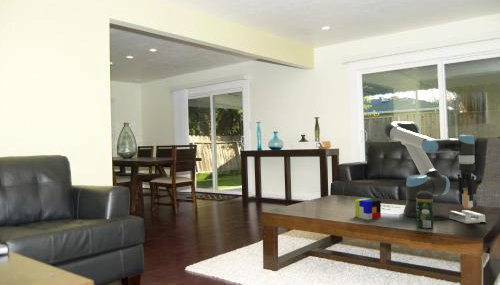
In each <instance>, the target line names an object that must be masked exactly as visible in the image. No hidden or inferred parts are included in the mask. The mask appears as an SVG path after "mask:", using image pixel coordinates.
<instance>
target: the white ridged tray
mask: <svg viewBox="0 0 500 285" xmlns="http://www.w3.org/2000/svg"><path fill="white" fill-rule="evenodd" d="M448 217H449V218H448V219H451V220H455V221H457V222H459V223H463V224H480V222H485V223H486V215H485V214H484V213H480V212H476V211H472V210H470V209H464V210H461V212H459V211H455V210H449V211H448Z"/></svg>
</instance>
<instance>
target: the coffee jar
mask: <svg viewBox="0 0 500 285" xmlns="http://www.w3.org/2000/svg"><path fill="white" fill-rule="evenodd" d="M416 212H417V217H416V226H417V228H420V229H424V230H425V229H426V230H427V229H433V228H434V196H433V194H432V193H431V192H429V191H420V192H417V194H416Z"/></svg>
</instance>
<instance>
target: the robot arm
mask: <svg viewBox="0 0 500 285" xmlns="http://www.w3.org/2000/svg"><path fill="white" fill-rule="evenodd" d="M383 134H384V136H385V138H388V139H389V140H392V141H400V144H402V146H403V145H404V146H405V148H406V149H407V152H408V154H409V155H410V157H411V159H412V161H413V162H414V165H415V166H416V168H417V171H418V172H419V174H412V175H409V176H408V177H407V178H406V183H405V185H406V186H405V188H406V203H405V206H404V207H403V208H404V209H403V216H406V217H411V218H417V212H416V194H417V192H420V191H429V192H431V193H432V194H433V197H437V196H438V197H439V196H443V195H446V194H447V193H448V192H449V190H450V187H451V181H450V180H449V177H447V176H446V175H443V174H441V172H440V171H439V170H438V169H435V167H434V165H433V163H432V162H431V160H430V158H429V156H428V155H427V154H435V153H437V154H438V153H458V162H459V164H458V170H459V171H460V173H457V174H456V175H457V180H458V192H459V193H461V202H462V204H461V205H462V207H464V190H463V188H468V194H467V207H471V208H473V207H474V195H476V194H477V183H478V182H477V181H478V176H477V175H475V174H474V171H475V170H476V169H475V168H476V166H475V161H476V160H475V158H476V157H475V144H476V143H475V136H474V135H472V134H461V135H460V134H459V135H458V138H434V137H433V138H432V137H430V136H427V135H423V134H420V129H419V126H418V124H417V123H415V122H414V121H411V120H410V121H409V120H404V121H399V120H398V121H390V122H388V123H386V124H385V126H384V128H383Z"/></svg>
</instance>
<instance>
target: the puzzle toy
mask: <svg viewBox="0 0 500 285" xmlns="http://www.w3.org/2000/svg"><path fill="white" fill-rule="evenodd" d="M354 202H355V203H354V205H355V208H354V209H355V210H354V211H355V217H356V218H360V219H364V220H368V221H369V220H373V219H381V218H382V217H381V216H382V210H381V209H382V206H381V204H382V203H381V200H380V199H374V198H370V197H368V198H365V197H364V198H360V199H355V200H354Z"/></svg>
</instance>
